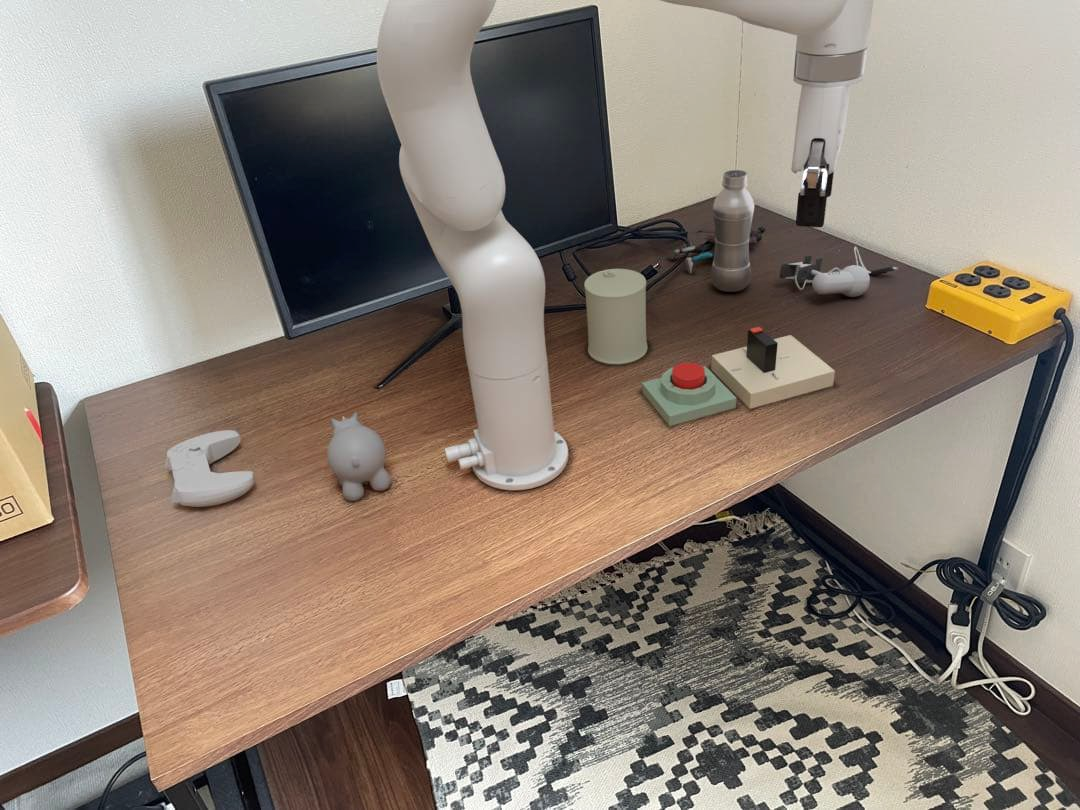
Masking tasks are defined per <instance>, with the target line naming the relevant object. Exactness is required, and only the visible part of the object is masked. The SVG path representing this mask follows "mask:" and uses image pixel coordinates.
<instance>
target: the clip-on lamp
mask: <svg viewBox="0 0 1080 810" xmlns="http://www.w3.org/2000/svg"><path fill="white" fill-rule="evenodd" d="M853 253H854V258H855V262H856V264H851V265H848V266H845V267H844V268H843V269H841V268H840V267H834V268H832V269H831V270H829V271H828V272H821V267H822V262H823V258H822V257H817V258H816V260H815V262H814V263H811V261H812V255H811V254H806V255H805V256H804V259H803V260H796V261H788V262H783V263H782V264H781V265H780V270H779V278H780V279H783V280H784V279H791V280H794V283H795V286H796V287H797V289H798V291H800V292H801V291H803V290H804V288H805V286H806V284H811V285H812V289H813V291H814V292H815V293H816V294H818V295H821V296H822V295H832V294H834V295H835V294H842V295H844V296H846V297H849V298H850V297H851V298H856V297H859V296H862V295H863V294H865V293H866V292H867V291H868V289H869V287H870V282H871V277H870V274H871V275H874V276H875V275H878V276H880V275H882V274H888V273H889V272H893V271H898V270H899V267H895V266H894V265H893V266H886V267H882V268H877V269H872V270H868V269H867V268H866V267H865V265H864V263H863V260H862V257H861V255H860V252H859V249H858V247H857V246H854V248H853ZM858 260H859V261H858ZM859 263H860V265H859ZM802 283H803V285H802V287H800V285H799V284H802Z"/></svg>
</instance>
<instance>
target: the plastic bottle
mask: <svg viewBox="0 0 1080 810" xmlns="http://www.w3.org/2000/svg"><path fill="white" fill-rule="evenodd" d="M748 175H749V174H748V172H747V171H746V170H741V169H740V170H739V169H732V170H726V171H725V172H723V176H722V182H721V186H722V187H723V189H722V190H721V191H720V192H719V193H718V194H717V195H716V197H715V199H714V201H713V204H712V214H713V222H714V231H715V233H714V235H715V237H716V238H715V253H714V259H713V261H712V265H711V270H710V279H711V283H712V285H713V286H714V287H715V289H716V290H719V291H722V292H725V293H726V292H728V293H735V292H740V291H744V290H745V289H746V288H747V287H748V285H749V284H750V282H751V277H752V267H751V262H750V245H749V236H750V232H751V227H752V222H753V217H754V212H755V203H754V202H755V201H754V199H753V197H752V195H751V193H750V192H749V191H748V189H747V188H746V187H748V185H749V184H748V183H749V181H748Z"/></svg>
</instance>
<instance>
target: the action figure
mask: <svg viewBox="0 0 1080 810" xmlns="http://www.w3.org/2000/svg"><path fill="white" fill-rule="evenodd" d="M765 232H766V228H765V227H763V226H762V225H761V226H759V227H757V230H756V231H755V230H750V236H749V247H751V246H754V245H755V244H757V243H758V242H760V241H761V240H762V238H763V234H764V233H765ZM698 233H705V234H706V236H707V237H705V241H704V243H702V244H700V245H693V246H692V245H691V246H688V247H685V248H680V249H674V250H673V251H671V252H670V254H669V257H670V260H674V259H675V258H676V257H678V256H679V255H680V254H686V253H689V254H697V255H695V256H692V257H686V258H685V267H686V271H687V273H688V274H689V275H691V274H693V273H692V272H693V266H694V263H696V262H698V261H703V260H714V253H715V238H716V237H715V230H708V229H707V230H703V229H702V230H698V231H697V232H696V234H698Z"/></svg>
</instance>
